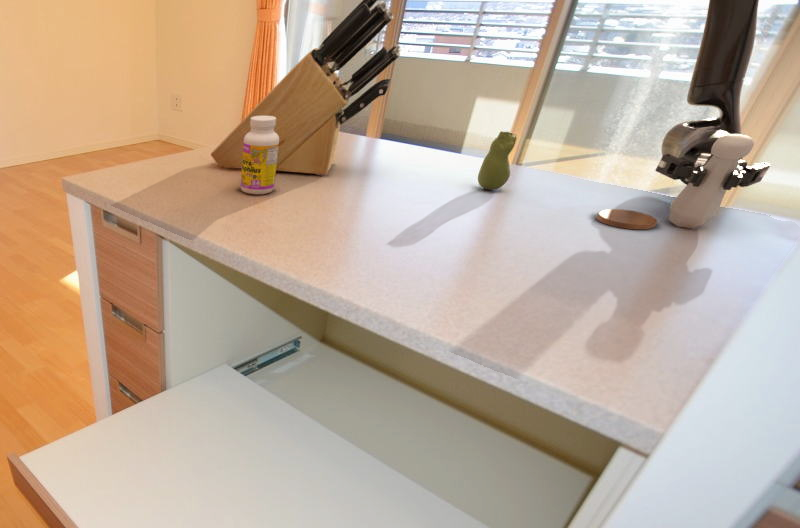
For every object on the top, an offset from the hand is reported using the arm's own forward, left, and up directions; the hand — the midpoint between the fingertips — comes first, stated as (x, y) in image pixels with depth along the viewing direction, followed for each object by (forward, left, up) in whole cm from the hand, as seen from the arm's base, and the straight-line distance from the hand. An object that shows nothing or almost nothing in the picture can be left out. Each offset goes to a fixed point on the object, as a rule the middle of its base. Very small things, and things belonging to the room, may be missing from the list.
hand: (715, 180), depth 80 cm
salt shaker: (0, -5, -7) cm, 9 cm away
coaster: (+8, -1, -8) cm, 11 cm away
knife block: (+69, -6, -8) cm, 70 cm away
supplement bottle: (+68, +14, -8) cm, 70 cm away
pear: (+30, -10, -8) cm, 33 cm away
